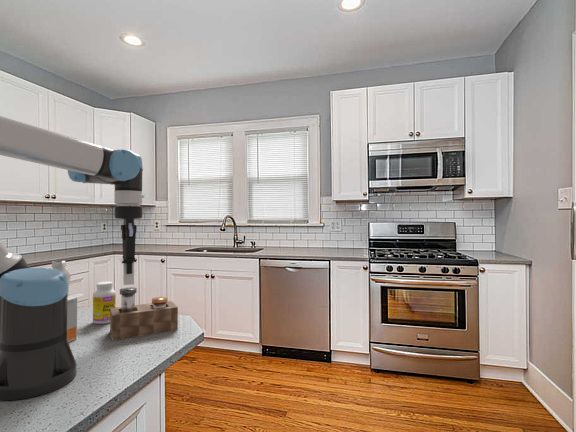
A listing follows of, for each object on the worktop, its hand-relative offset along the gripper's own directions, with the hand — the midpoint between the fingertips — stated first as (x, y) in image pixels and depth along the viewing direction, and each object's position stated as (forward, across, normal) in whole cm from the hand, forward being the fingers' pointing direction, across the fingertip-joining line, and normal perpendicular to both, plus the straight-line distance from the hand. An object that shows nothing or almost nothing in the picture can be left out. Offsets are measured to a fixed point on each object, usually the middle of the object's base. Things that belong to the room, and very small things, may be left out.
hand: (128, 284), depth 103 cm
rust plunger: (+14, 0, -9) cm, 17 cm away
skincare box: (+15, +1, +17) cm, 22 cm away
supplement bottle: (+15, +16, +6) cm, 23 cm away
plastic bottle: (+15, +23, +19) cm, 33 cm away
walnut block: (+15, 0, -4) cm, 15 cm away
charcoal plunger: (+10, 0, 0) cm, 10 cm away
